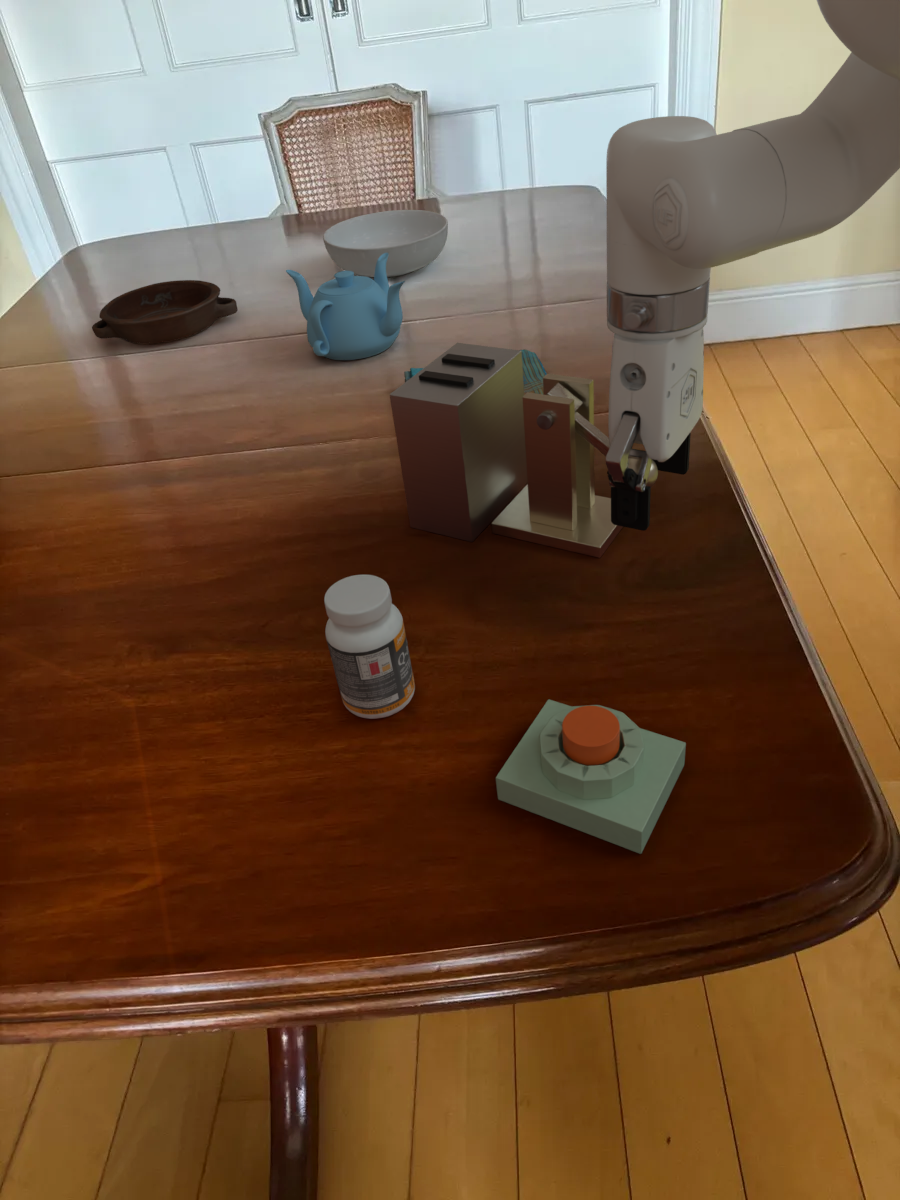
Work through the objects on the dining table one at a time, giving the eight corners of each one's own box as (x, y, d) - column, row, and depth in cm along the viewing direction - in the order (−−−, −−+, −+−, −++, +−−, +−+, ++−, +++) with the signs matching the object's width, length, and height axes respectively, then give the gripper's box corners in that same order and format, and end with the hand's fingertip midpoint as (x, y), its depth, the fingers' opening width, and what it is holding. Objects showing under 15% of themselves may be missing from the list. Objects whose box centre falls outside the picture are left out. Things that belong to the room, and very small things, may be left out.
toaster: (529, 480, 92) (521, 346, 83) (472, 542, 84) (457, 400, 75) (470, 469, 95) (456, 338, 86) (410, 527, 87) (388, 390, 78)
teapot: (308, 375, 120) (292, 299, 113) (299, 336, 131) (284, 265, 125) (415, 355, 121) (405, 279, 115) (397, 318, 133) (387, 247, 127)
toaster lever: (649, 487, 80) (670, 464, 77) (636, 505, 77) (657, 482, 75) (545, 401, 80) (563, 376, 78) (529, 417, 78) (547, 392, 75)
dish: (99, 325, 145) (88, 295, 142) (235, 299, 148) (227, 268, 145) (95, 364, 131) (83, 331, 128) (244, 334, 135) (236, 301, 132)
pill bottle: (426, 706, 67) (408, 602, 61) (354, 732, 66) (328, 628, 60) (401, 661, 72) (383, 560, 66) (333, 685, 70) (307, 584, 64)
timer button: (627, 734, 58) (628, 715, 57) (606, 772, 56) (606, 753, 55) (576, 717, 60) (576, 699, 59) (553, 754, 57) (552, 735, 56)
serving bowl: (313, 292, 147) (304, 249, 142) (352, 252, 162) (345, 212, 158) (435, 289, 142) (430, 244, 137) (463, 247, 157) (459, 206, 153)
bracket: (633, 513, 85) (636, 376, 77) (600, 558, 80) (599, 417, 71) (529, 492, 90) (521, 362, 82) (492, 533, 85) (479, 399, 76)
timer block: (684, 765, 60) (687, 723, 58) (641, 854, 55) (642, 812, 53) (549, 720, 65) (547, 680, 62) (497, 799, 60) (493, 758, 57)
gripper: (665, 352, 60) (657, 559, 71) (740, 269, 72) (724, 458, 82) (563, 341, 64) (570, 540, 74) (650, 263, 75) (645, 445, 85)
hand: (650, 497), depth 78 cm, fingers open, 9 cm apart
